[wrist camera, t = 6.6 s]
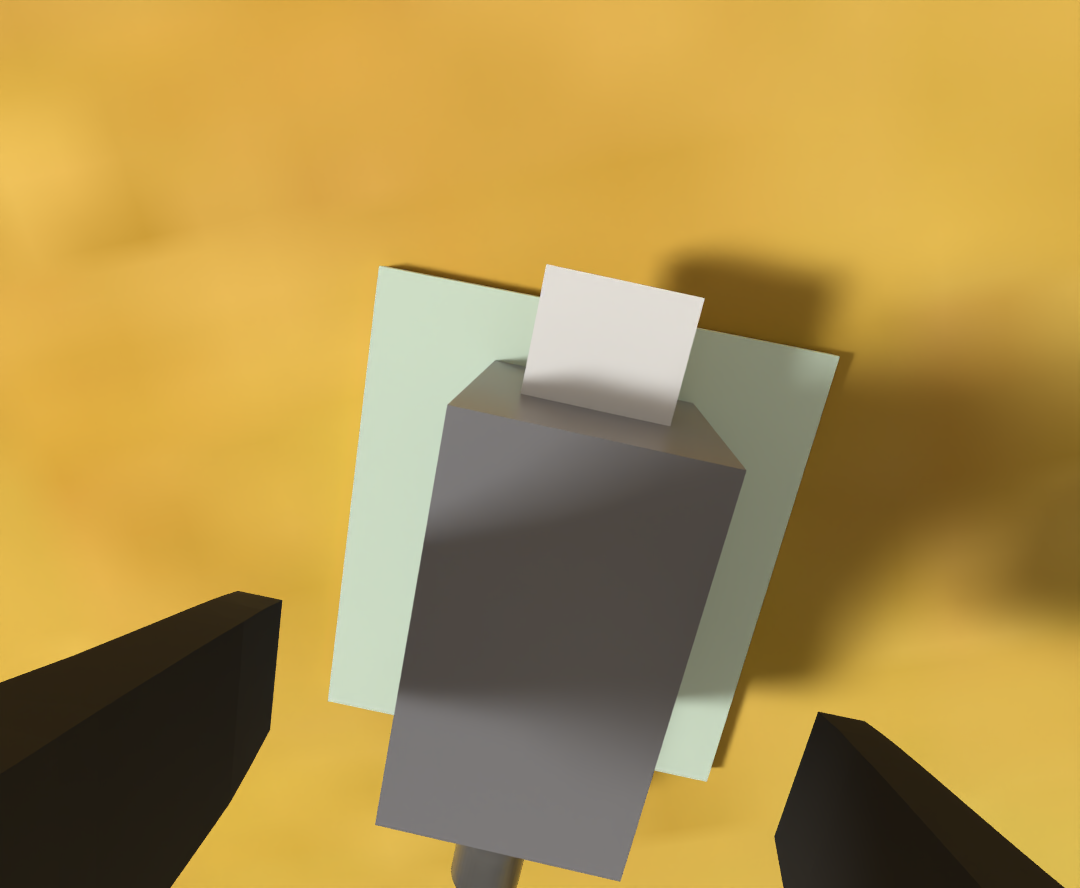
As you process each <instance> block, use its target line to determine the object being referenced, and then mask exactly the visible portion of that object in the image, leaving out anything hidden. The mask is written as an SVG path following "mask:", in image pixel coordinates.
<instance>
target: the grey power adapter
mask: <svg viewBox="0 0 1080 888" xmlns="http://www.w3.org/2000/svg"><path fill="white" fill-rule="evenodd" d="M704 299H705V298H701V297H697V296H692V295H688V294H683V293H678V292H674V291H669V290H664V289H660V288H655V287H650V286H646V285H641V284H636V283H632V282H627V281H622V280H618V279H613V278H608V277H604V276H599V275H595V274H590V273H585V272H581V271H576V270H571V269H567V268H562V267H557V266H553V265H548V264H547V265H546V270H545V274H544V279H543V284H542V289H541V294H540V299H539V304H538V309H537V314H536V319H535V324H534V329H533V334H532V339H531V344H530V349H529V354H528V359H527V364H526V367H525V366H520V365H515V364H511V363H506V362H502V361H497V360H495V361H494V362H493V363H492V364H491V365H489V366H488V367H487V368H486V369H485V370H484V371H483V372H482V373H481V374H480V375H479V376H478V377H477V378H475V379H474V380H473V381H472V382H471V383H470V384H469V385H468V386H467V387H466V388H465V389H464V390H463V391H461V392H460V393H459V394H458V395H457V396H456V397H455V398H454V399H453V400H452V401H451V402H450V403H449V404H448V405H447V409H446V415H445V421H444V427H443V432H442V438H441V444H440V450H439V456H438V462H437V467H436V473H435V479H434V485H433V491H432V497H431V502H430V508H429V514H428V520H427V526H426V532H425V537H424V543H423V549H422V555H421V561H420V566H419V572H418V578H417V584H416V590H415V596H414V601H413V607H412V613H411V619H410V625H409V631H408V636H407V642H406V648H405V654H404V660H403V666H402V671H401V677H400V683H399V689H398V695H397V701H396V706H395V712H394V718H393V724H392V730H391V736H390V741H389V747H388V753H387V759H386V765H385V770H384V776H383V782H382V788H381V794H380V800H379V805H378V811H377V817H376V823H375V825H378V826H382V827H387V828H391V829H395V830H400V831H404V832H408V833H413V834H417V835H421V836H426V837H430V838H434V839H439V840H443V841H447V842H452V843H456V848H455V852H454V857H453V862H452V867H451V874H452V879H453V882H454V884H455V886H456V888H516V887H517V885H518V881H519V877H520V873H521V869H522V865H523V861H524V859H525V860H529V861H534V862H538V863H542V864H547V865H551V866H555V867H559V868H564V869H568V870H572V871H577V872H581V873H585V874H590V875H594V876H598V877H603V878H607V879H611V880H616V881H621V877H622V874H623V871H624V868H625V864H626V861H627V858H628V855H629V851H630V848H631V845H632V842H633V838H634V835H635V832H636V829H637V825H638V822H639V819H640V816H641V812H642V809H643V806H644V803H645V799H646V796H647V793H648V790H649V786H650V783H651V780H652V777H653V773H654V770H655V767H656V764H657V760H658V757H659V754H660V750H661V747H662V744H663V741H664V737H665V734H666V731H667V728H668V724H669V721H670V718H671V715H672V711H673V708H674V705H675V702H676V698H677V695H678V692H679V689H680V685H681V682H682V679H683V676H684V672H685V669H686V666H687V663H688V659H689V656H690V653H691V650H692V646H693V643H694V640H695V637H696V633H697V630H698V627H699V624H700V620H701V617H702V614H703V611H704V607H705V604H706V601H707V598H708V594H709V591H710V588H711V585H712V581H713V578H714V575H715V572H716V568H717V565H718V562H719V559H720V555H721V552H722V549H723V546H724V542H725V539H726V536H727V533H728V529H729V526H730V523H731V520H732V516H733V513H734V510H735V507H736V503H737V500H738V497H739V494H740V490H741V487H742V484H743V481H744V477H745V474H746V471H747V470H746V469H745V468H744V466H743V465H742V464H741V463H740V461H739V460H738V459H737V458H736V456H735V455H734V454H733V453H732V451H731V450H730V449H729V448H728V446H727V445H726V444H725V442H724V441H723V440H722V439H721V437H720V436H719V435H718V434H717V432H716V431H715V430H714V429H713V427H712V426H711V425H710V424H709V422H708V421H707V420H706V419H705V417H704V416H703V415H702V414H701V412H700V411H699V410H698V409H697V407H696V406H695V405H694V403H690V402H685V401H681V400H677V399H678V396H679V392H680V388H681V385H682V381H683V377H684V373H685V370H686V366H687V362H688V359H689V355H690V351H691V347H692V344H693V340H694V336H695V333H696V329H697V325H698V321H699V318H700V314H701V310H702V307H703V303H704Z"/></svg>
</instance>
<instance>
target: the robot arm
mask: <svg viewBox="0 0 1080 888" xmlns="http://www.w3.org/2000/svg"><path fill="white" fill-rule="evenodd" d="M281 608H282V600H279V599H274V598H269V597H264V596H260V595H255V594H250V593H245V592H240V591H236V592H233V593H230V594H227V595H224V596H221V597H218V598H216V599H213V600H210V601H208V602H205V603H202V604H200V605H197V606H195V607H192V608H190V609H187V610H185V611H183V612H180V613H178V614H175V615H173V616H170V617H168V618H165V619H163V620H160V621H158V622H156V623H153V624H151V625H148V626H146V627H143V628H141V629H138V630H136V631H133V632H131V633H129V634H126V635H124V636H121V637H119V638H116V639H114V640H111V641H109V642H106V643H104V644H101V645H99V646H96V647H94V648H91V649H89V650H86V651H84V652H81V653H79V654H76V655H74V656H71V657H69V658H66V659H63V660H60V661H58V662H55V663H52V664H50V665H47V666H44V667H41V668H39V669H36V670H33V671H31V672H28V673H25V674H22V675H20V676H17V677H14V678H12V679H9V680H6V681H3V682H1V683H0V888H170V887H171V886H172V885H173V883H174V882H175V880H176V879H177V878H178V876H179V875H180V873H181V872H182V871H183V869H184V868H185V866H186V865H187V864H188V862H189V861H190V859H191V858H192V856H193V855H194V854H195V852H196V851H197V849H198V848H199V846H200V845H201V844H202V842H203V841H204V839H205V838H206V836H207V835H208V834H209V832H210V831H211V829H212V828H213V826H214V825H215V824H216V822H217V821H218V819H219V818H220V816H221V815H222V813H223V812H224V811H225V809H226V808H227V806H228V805H229V803H230V802H231V800H232V798H233V796H234V795H235V793H236V791H237V789H238V787H239V786H240V784H241V782H242V780H243V779H244V777H245V775H246V773H247V772H248V770H249V768H250V766H251V764H252V762H253V760H254V759H255V757H256V755H257V753H258V751H259V749H260V747H261V745H262V744H263V742H264V740H265V738H266V736H267V734H268V732H269V730H270V724H271V713H272V703H273V692H274V682H275V671H276V660H277V650H278V639H279V629H280V618H281ZM774 837H775V843H776V848H777V854H778V860H779V865H780V871H781V876H782V882H783V887H784V888H1064V887H1063V886H1062V885H1061V884H1059V883H1058V882H1057V881H1056V880H1054V879H1053V878H1052V877H1051V876H1050V875H1048V874H1047V873H1046V872H1045V871H1044V870H1042V869H1041V868H1040V867H1039V866H1038V865H1036V864H1035V863H1034V862H1033V861H1032V860H1031V859H1029V858H1028V857H1027V856H1026V855H1025V854H1023V853H1022V852H1021V851H1020V850H1019V849H1017V848H1016V847H1015V846H1014V845H1013V844H1012V843H1010V842H1009V841H1008V840H1007V839H1006V838H1005V837H1003V836H1002V835H1001V834H1000V833H999V832H998V831H996V830H995V829H994V828H993V827H992V826H991V825H989V824H988V823H987V822H986V821H985V820H984V819H982V818H981V817H980V816H979V815H978V814H977V813H975V812H974V811H973V810H972V809H971V808H970V807H968V806H967V805H966V804H965V803H964V802H963V801H961V800H960V799H959V798H958V797H957V796H956V795H954V794H953V793H952V792H951V791H950V790H949V789H947V788H946V787H945V786H944V785H943V784H942V783H940V782H939V781H938V780H937V779H936V778H935V777H934V776H932V775H931V774H930V773H929V772H928V771H926V770H925V769H924V768H923V767H922V766H921V765H919V764H918V763H917V762H916V761H915V760H913V759H912V758H911V757H910V756H909V755H907V754H906V753H905V752H904V751H903V750H901V749H900V748H899V747H898V746H897V745H895V744H894V743H893V742H892V741H890V740H889V739H888V738H887V737H885V736H884V735H883V734H881V733H880V732H879V731H877V730H876V729H875V728H873V727H872V726H870V725H869V724H868V723H866V722H865V721H860V720H856V719H851V718H846V717H841V716H836V715H832V714H827V713H822V712H818V714H817V717H816V720H815V722H814V725H813V728H812V731H811V734H810V737H809V740H808V742H807V745H806V748H805V751H804V754H803V757H802V759H801V762H800V765H799V768H798V771H797V774H796V777H795V779H794V782H793V785H792V788H791V791H790V794H789V796H788V799H787V802H786V805H785V808H784V811H783V814H782V816H781V819H780V822H779V825H778V828H777V831H776V833H775V836H774Z"/></svg>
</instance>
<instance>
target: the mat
mask: <svg viewBox="0 0 1080 888" xmlns="http://www.w3.org/2000/svg"><path fill="white" fill-rule="evenodd" d="M539 299H540V296H535V295H530V294H525V293H520V292H514V291H509V290H504V289H499V288H494V287H489V286H484V285H479V284H474V283H469V282H464V281H459V280H454V279H449V278H443V277H438V276H433V275H428V274H423V273H418V272H413V271H408V270H403V269H398V268H393V267H388V266H379V271H378V280H377V288H376V297H375V306H374V314H373V323H372V331H371V340H370V348H369V357H368V365H367V374H366V382H365V391H364V399H363V408H362V416H361V425H360V433H359V442H358V450H357V459H356V467H355V476H354V484H353V493H352V501H351V510H350V518H349V527H348V535H347V544H346V552H345V561H344V569H343V578H342V586H341V595H340V603H339V612H338V620H337V629H336V637H335V646H334V654H333V663H332V671H331V680H330V688H329V697H328V701H330V702H335V703H340V704H345V705H349V706H354V707H359V708H363V709H368V710H373V711H377V712H382V713H387V714H392V715H394V712H395V706H396V701H397V695H398V689H399V683H400V677H401V671H402V666H403V660H404V654H405V648H406V642H407V636H408V631H409V625H410V619H411V613H412V607H413V601H414V596H415V590H416V584H417V578H418V572H419V566H420V561H421V555H422V549H423V543H424V537H425V532H426V526H427V520H428V514H429V508H430V502H431V497H432V491H433V485H434V479H435V473H436V467H437V462H438V456H439V450H440V444H441V438H442V432H443V427H444V421H445V415H446V409H447V405H448V404H449V403H450V402H451V401H452V400H453V399H454V398H455V397H456V396H457V395H458V394H459V393H460V392H461V391H463V390H464V389H465V388H466V387H467V386H468V385H469V384H470V383H471V382H472V381H473V380H474V379H475V378H477V377H478V376H479V375H480V374H481V373H482V372H483V371H484V370H485V369H486V368H487V367H488V366H489V365H491V364H492V363H493V362H494V361H495V360H497V361H502V362H506V363H511V364H515V365H520V366H525V367H526V364H527V359H528V354H529V349H530V344H531V339H532V334H533V329H534V324H535V319H536V314H537V309H538V304H539ZM839 358H840V357H839V356H836V355H833V354H829V353H824V352H819V351H814V350H809V349H804V348H799V347H794V346H789V345H784V344H778V343H773V342H768V341H763V340H758V339H753V338H748V337H743V336H738V335H733V334H728V333H723V332H718V331H712V330H707V329H702V328H697V329H696V333H695V336H694V340H693V344H692V347H691V351H690V355H689V359H688V362H687V366H686V370H685V373H684V377H683V381H682V385H681V388H680V392H679V396H678V399H677V400H681V401H685V402H690V403H694V405H695V406H696V407H697V409H698V410H699V411H700V412H701V414H702V415H703V416H704V417H705V419H706V420H707V421H708V422H709V424H710V425H711V426H712V427H713V429H714V430H715V431H716V432H717V434H718V435H719V436H720V437H721V439H722V440H723V441H724V442H725V444H726V445H727V446H728V448H729V449H730V450H731V451H732V453H733V454H734V455H735V456H736V458H737V459H738V460H739V461H740V463H741V464H742V465H743V466H744V468H745V469H746V470H747V471H746V474H745V477H744V481H743V484H742V487H741V490H740V494H739V497H738V500H737V503H736V507H735V510H734V513H733V516H732V520H731V523H730V526H729V529H728V533H727V536H726V539H725V542H724V546H723V549H722V552H721V555H720V559H719V562H718V565H717V568H716V572H715V575H714V578H713V581H712V585H711V588H710V591H709V594H708V598H707V601H706V604H705V607H704V611H703V614H702V617H701V620H700V624H699V627H698V630H697V633H696V637H695V640H694V643H693V646H692V650H691V653H690V656H689V659H688V663H687V666H686V669H685V672H684V676H683V679H682V682H681V685H680V689H679V692H678V695H677V698H676V702H675V705H674V708H673V711H672V715H671V718H670V721H669V724H668V728H667V731H666V734H665V737H664V741H663V744H662V747H661V750H660V754H659V757H658V760H657V764H656V767H655V771H659V772H664V773H669V774H673V775H678V776H683V777H687V778H692V779H697V780H702V781H706V782H707V779H708V776H709V773H710V770H711V766H712V763H713V760H714V757H715V754H716V751H717V747H718V744H719V741H720V738H721V735H722V731H723V728H724V725H725V722H726V719H727V715H728V712H729V709H730V706H731V703H732V699H733V696H734V693H735V690H736V687H737V683H738V680H739V677H740V674H741V671H742V667H743V664H744V661H745V658H746V655H747V652H748V648H749V645H750V642H751V639H752V636H753V632H754V629H755V626H756V623H757V620H758V616H759V613H760V610H761V607H762V604H763V600H764V597H765V594H766V591H767V588H768V584H769V581H770V578H771V575H772V572H773V568H774V565H775V562H776V559H777V556H778V553H779V549H780V546H781V543H782V540H783V537H784V533H785V530H786V527H787V524H788V521H789V517H790V514H791V511H792V508H793V505H794V501H795V498H796V495H797V492H798V489H799V485H800V482H801V479H802V476H803V473H804V469H805V466H806V463H807V460H808V457H809V454H810V450H811V447H812V444H813V441H814V438H815V434H816V431H817V428H818V425H819V422H820V418H821V415H822V412H823V409H824V406H825V402H826V399H827V396H828V393H829V390H830V386H831V383H832V380H833V377H834V374H835V370H836V367H837V364H838V361H839Z"/></svg>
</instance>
